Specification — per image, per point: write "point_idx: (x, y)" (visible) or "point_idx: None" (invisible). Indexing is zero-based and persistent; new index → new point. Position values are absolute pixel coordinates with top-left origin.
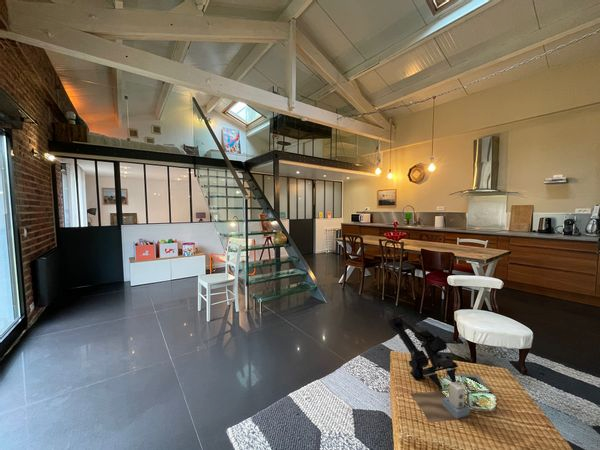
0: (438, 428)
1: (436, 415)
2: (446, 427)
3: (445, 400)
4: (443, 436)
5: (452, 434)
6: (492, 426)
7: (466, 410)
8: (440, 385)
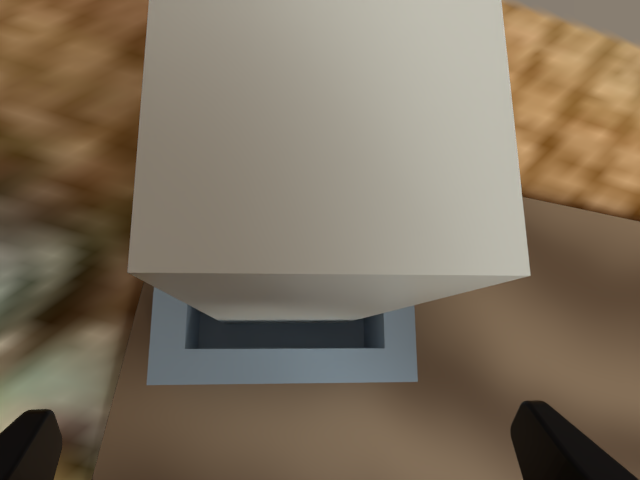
0: (619, 174)
1: (565, 276)
2: (538, 158)
3: (406, 338)
4: (627, 104)
5: (536, 92)
6: (72, 18)
7: None
8: (610, 467)
